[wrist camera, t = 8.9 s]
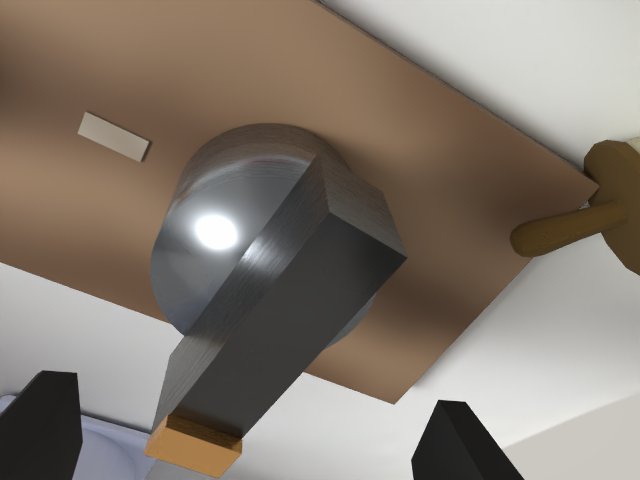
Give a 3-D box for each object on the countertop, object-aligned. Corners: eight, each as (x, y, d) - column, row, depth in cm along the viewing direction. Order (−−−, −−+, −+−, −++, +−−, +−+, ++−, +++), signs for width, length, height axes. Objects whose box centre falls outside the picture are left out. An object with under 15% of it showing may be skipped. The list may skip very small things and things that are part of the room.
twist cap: (412, 169, 17) (489, 313, 11) (284, 322, 20) (286, 500, 14) (248, 60, 15) (227, 162, 9) (133, 252, 18) (57, 426, 12)
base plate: (388, 380, 25) (394, 406, 24) (-55, 212, 19) (-81, 235, 17) (579, 168, 20) (602, 187, 18) (41, -177, 13) (14, -187, 12)
